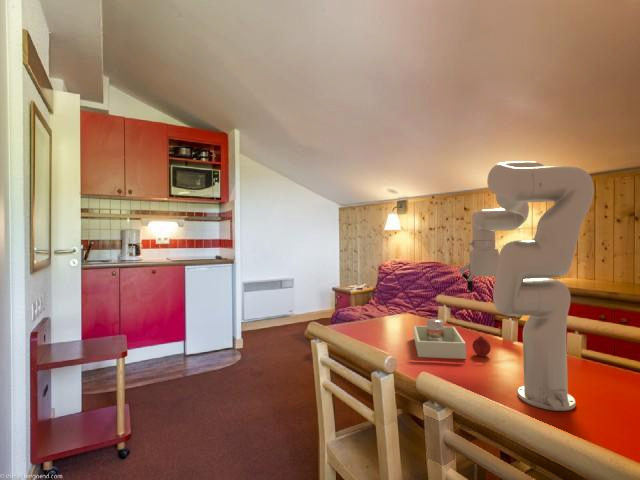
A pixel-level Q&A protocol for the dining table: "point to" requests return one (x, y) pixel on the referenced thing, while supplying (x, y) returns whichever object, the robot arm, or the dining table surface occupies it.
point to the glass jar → (435, 330)
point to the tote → (440, 344)
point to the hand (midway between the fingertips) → (484, 291)
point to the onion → (481, 346)
